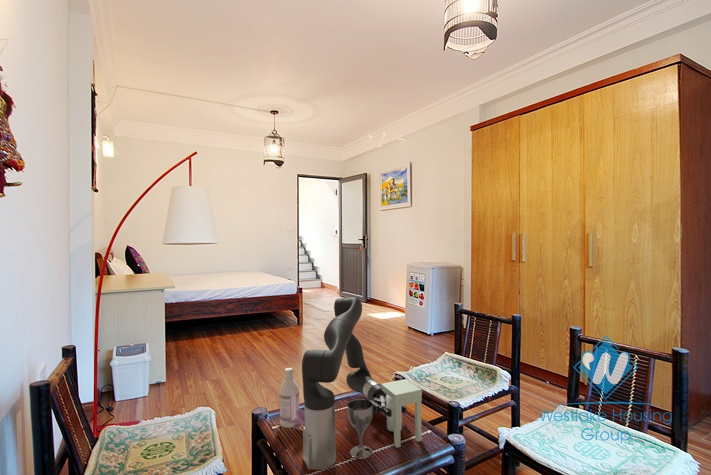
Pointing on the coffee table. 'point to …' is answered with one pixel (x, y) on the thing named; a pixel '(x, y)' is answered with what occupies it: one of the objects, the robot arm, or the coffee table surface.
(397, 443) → the small green stool
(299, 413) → the lily
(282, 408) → the bath foam
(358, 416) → the wine glass
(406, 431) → the coffee table surface
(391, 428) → the white plastic cylinder
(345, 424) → the coffee table surface
